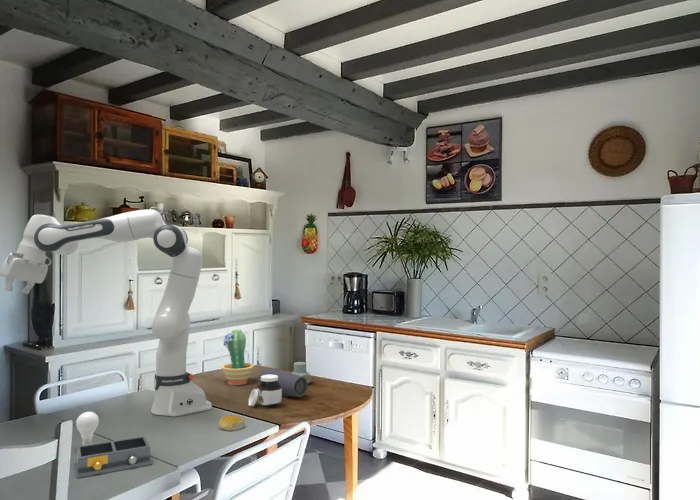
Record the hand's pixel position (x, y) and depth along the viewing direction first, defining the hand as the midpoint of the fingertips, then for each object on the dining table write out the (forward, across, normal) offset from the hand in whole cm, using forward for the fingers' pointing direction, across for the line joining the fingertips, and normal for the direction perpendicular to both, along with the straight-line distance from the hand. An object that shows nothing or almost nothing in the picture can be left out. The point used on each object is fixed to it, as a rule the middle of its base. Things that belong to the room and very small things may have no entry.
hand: (16, 292), depth 186 cm
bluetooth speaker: (+17, +45, -99) cm, 110 cm away
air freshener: (+13, +63, -103) cm, 122 cm away
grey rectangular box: (+37, -30, -66) cm, 82 cm away
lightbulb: (+39, -19, -52) cm, 68 cm away
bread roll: (+26, +2, -90) cm, 94 cm away
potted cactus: (+20, +64, -74) cm, 100 cm away
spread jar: (+21, +28, -95) cm, 101 cm away
